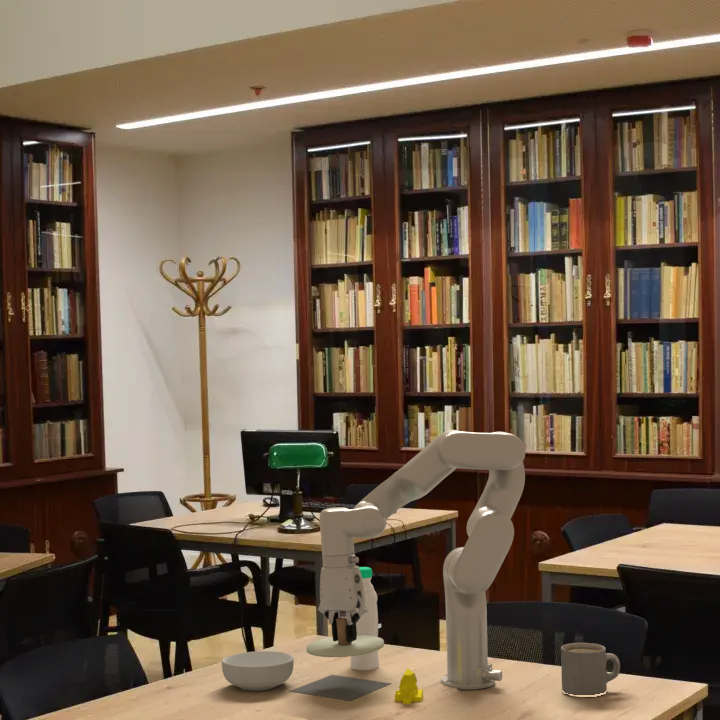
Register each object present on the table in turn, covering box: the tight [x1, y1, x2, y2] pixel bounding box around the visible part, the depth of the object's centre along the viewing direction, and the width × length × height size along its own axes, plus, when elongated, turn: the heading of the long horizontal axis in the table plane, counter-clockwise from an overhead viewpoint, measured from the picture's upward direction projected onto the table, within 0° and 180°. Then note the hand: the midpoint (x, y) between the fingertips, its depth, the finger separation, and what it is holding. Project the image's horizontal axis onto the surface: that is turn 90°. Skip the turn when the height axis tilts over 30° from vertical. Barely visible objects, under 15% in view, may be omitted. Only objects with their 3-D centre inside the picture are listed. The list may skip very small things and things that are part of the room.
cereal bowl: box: [221, 650, 295, 692], centre depth 277 cm, size 17×17×7 cm
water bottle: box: [350, 566, 380, 671], centre depth 292 cm, size 7×7×25 cm
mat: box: [289, 674, 392, 702], centre depth 273 cm, size 17×17×1 cm
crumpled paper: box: [394, 667, 424, 705], centre depth 262 cm, size 6×8×8 cm
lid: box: [305, 616, 385, 658], centre depth 273 cm, size 18×18×7 cm
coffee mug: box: [560, 642, 621, 695], centre depth 266 cm, size 13×10×10 cm
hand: (344, 639), depth 273 cm, fingers closed on lid, 3 cm apart
